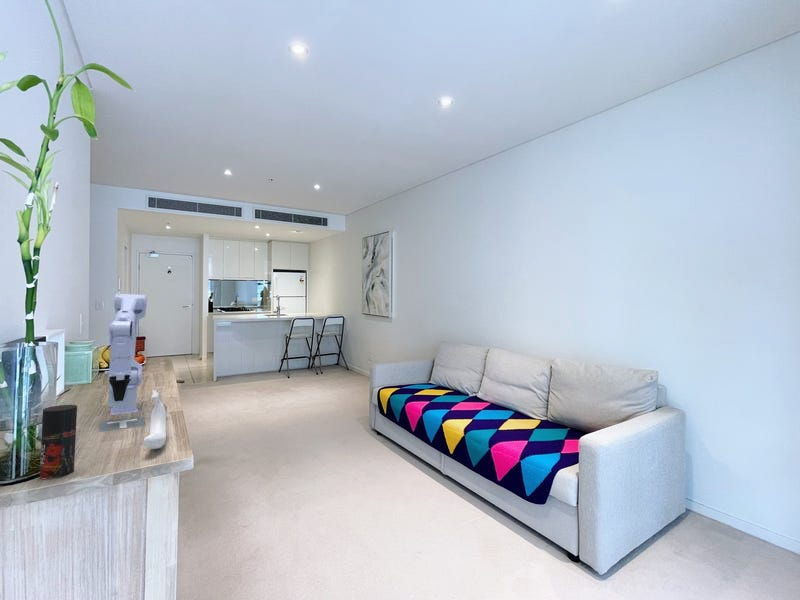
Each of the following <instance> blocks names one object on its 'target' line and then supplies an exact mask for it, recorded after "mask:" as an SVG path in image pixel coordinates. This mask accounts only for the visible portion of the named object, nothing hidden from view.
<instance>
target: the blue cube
mask: <svg viewBox="0 0 800 600" xmlns="http://www.w3.org/2000/svg"><path fill="white" fill-rule="evenodd" d="M107 403H108V404H107V407H112V406H119V405H127V404H128V387H127V388H126V391H125V396H124V399H123V401H115V400H114V394H113V389H112V388H110V387H109V388H108V402H107Z"/></svg>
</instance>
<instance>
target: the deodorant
mask: <svg viewBox="0 0 800 600" xmlns="http://www.w3.org/2000/svg"><path fill="white" fill-rule="evenodd" d="M77 418H78V405H76V404H62V405H61V404H60V405H53V406H48V407H45V408H43V409H42V419H41V421H42V422H41V423H42V424H41V436H40V437H41V441H40V443H41V444H40V456H39V457H40V459H39V475H40V477H41V478H47V479H46V480H51V479H50V478H54V479H58V478H62V477H65V476H68V475H70V474H73V473H74V472H75V460H76V459H75V457H76V439H77V438H76V437H77V420H78V419H77ZM40 477H39V478H40ZM41 478H40V479H41ZM48 478H49V479H48Z"/></svg>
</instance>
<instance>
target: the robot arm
mask: <svg viewBox="0 0 800 600" xmlns="http://www.w3.org/2000/svg"><path fill="white" fill-rule="evenodd" d="M147 300H148V299H147V295H146V294H137V293H136V294H133V293H116V294H115V295H114V300H113V303H114V305H113V307H114V310H115V316H114V320H113V322H110V323H109V324H108V325H109V326H108V335H109V344H110V349H109V368H108V369H109V370H108V371H107V370H106V371H104V375H108V381H107V382H108V383H107V384H108V387H109V388H112V389H113V394H114V400H115V401H123V399H124V396H125V391H126V388H127V387H128V404H127V405H119V406H111V407H112V408H110V415H111V416H114V415H121V414H132V413H137V412H139V410H138V407H137V405H138V403H137V401H138V400H137V399H138V387H140V386H141V385H142V383H143V365H142V364H141V363H139V362H137V361H136V360H135V358H136V357H135V356H136V343H137V334H138V333H137V332H138V324H139V321H140V320H141V319H143V318H145V316H146V312H147V305H148V304H147V302H148V301H147Z"/></svg>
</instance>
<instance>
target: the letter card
mask: <svg viewBox="0 0 800 600" xmlns="http://www.w3.org/2000/svg"><path fill="white" fill-rule="evenodd" d="M138 427H139V428H140V427H147V423H146V420H145V417H144V416H141V417H133V418H125V419H117V420H116V419H115V420H110V421H108V420H107V421H102V422H99V427H98V429H99V430H98V431H99V432H100V433H101V432H102V433H103V432H108V431H115V430H117V431H118V430H124V429H130V428H138Z"/></svg>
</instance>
